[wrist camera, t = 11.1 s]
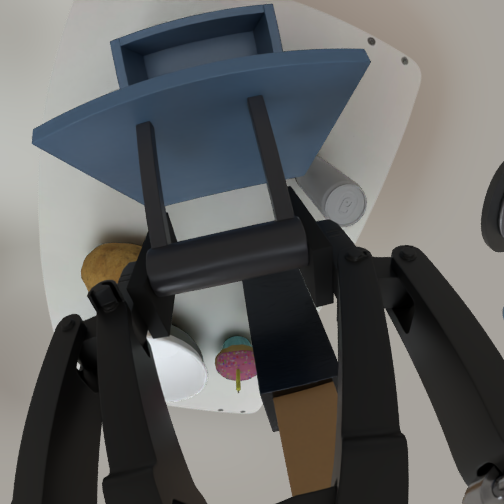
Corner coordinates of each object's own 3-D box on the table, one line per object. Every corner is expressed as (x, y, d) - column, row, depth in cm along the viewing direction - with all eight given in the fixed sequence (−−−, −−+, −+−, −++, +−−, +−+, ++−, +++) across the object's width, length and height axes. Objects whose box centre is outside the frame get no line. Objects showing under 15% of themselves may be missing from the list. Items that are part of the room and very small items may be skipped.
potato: (164, 336, 37) (173, 287, 32) (74, 311, 35) (67, 258, 30) (174, 289, 45) (185, 241, 40) (96, 269, 42) (96, 219, 37)
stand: (292, 254, 44) (342, 374, 25) (298, 303, 49) (337, 416, 30) (239, 265, 44) (259, 394, 25) (251, 313, 49) (272, 432, 30)
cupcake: (205, 338, 51) (206, 393, 41) (248, 322, 50) (258, 378, 40) (227, 363, 55) (231, 415, 45) (267, 349, 54) (277, 401, 44)
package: (333, 380, 26) (370, 491, 15) (335, 413, 30) (362, 500, 20) (272, 397, 26) (295, 512, 16) (285, 427, 30) (304, 516, 20)
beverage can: (333, 162, 37) (375, 192, 27) (319, 193, 39) (355, 233, 29) (301, 149, 36) (336, 175, 26) (288, 182, 38) (315, 220, 28)
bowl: (212, 368, 56) (213, 402, 49) (124, 368, 54) (118, 400, 47) (201, 297, 46) (200, 335, 39) (95, 301, 44) (80, 335, 37)
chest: (136, 53, 27) (109, 41, 19) (257, 25, 27) (272, 3, 19) (167, 175, 36) (152, 204, 27) (281, 150, 36) (302, 170, 27)
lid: (32, 128, 9) (45, 320, 9) (364, 48, 9) (432, 239, 9) (150, 201, 27) (166, 287, 27) (302, 168, 27) (323, 253, 27)
